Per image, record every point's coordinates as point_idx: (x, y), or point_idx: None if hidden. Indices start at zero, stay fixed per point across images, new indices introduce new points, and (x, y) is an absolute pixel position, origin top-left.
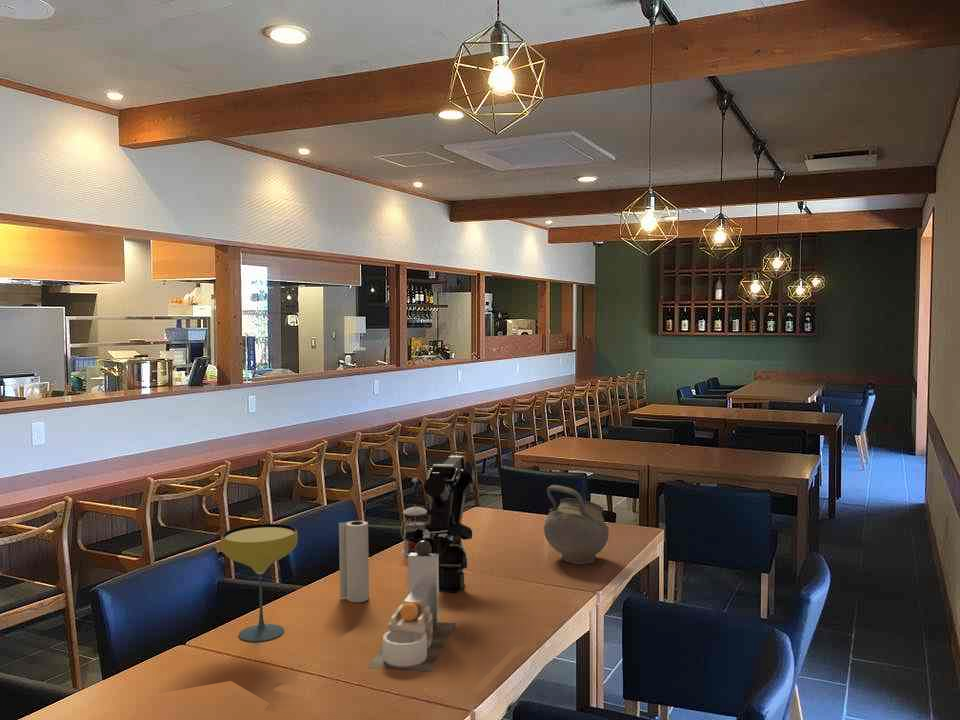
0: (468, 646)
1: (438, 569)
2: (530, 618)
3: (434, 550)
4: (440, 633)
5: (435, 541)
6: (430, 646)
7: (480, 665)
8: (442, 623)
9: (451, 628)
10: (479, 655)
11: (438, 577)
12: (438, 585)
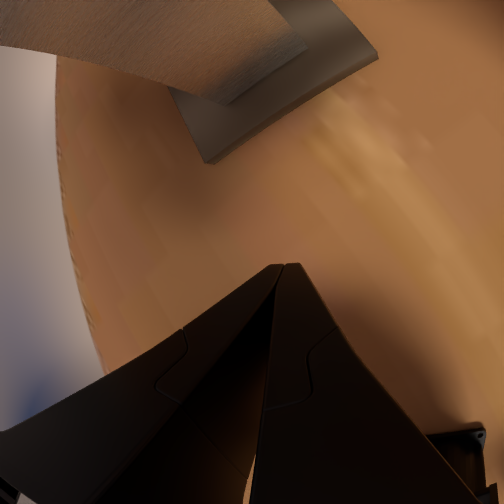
0: (128, 103)
1: (39, 50)
2: (130, 337)
3: (200, 345)
4: None
5: (77, 430)
6: None
7: (85, 71)
8: (232, 130)
9: (187, 122)
10: (98, 94)
11: (76, 56)
12: (109, 63)
